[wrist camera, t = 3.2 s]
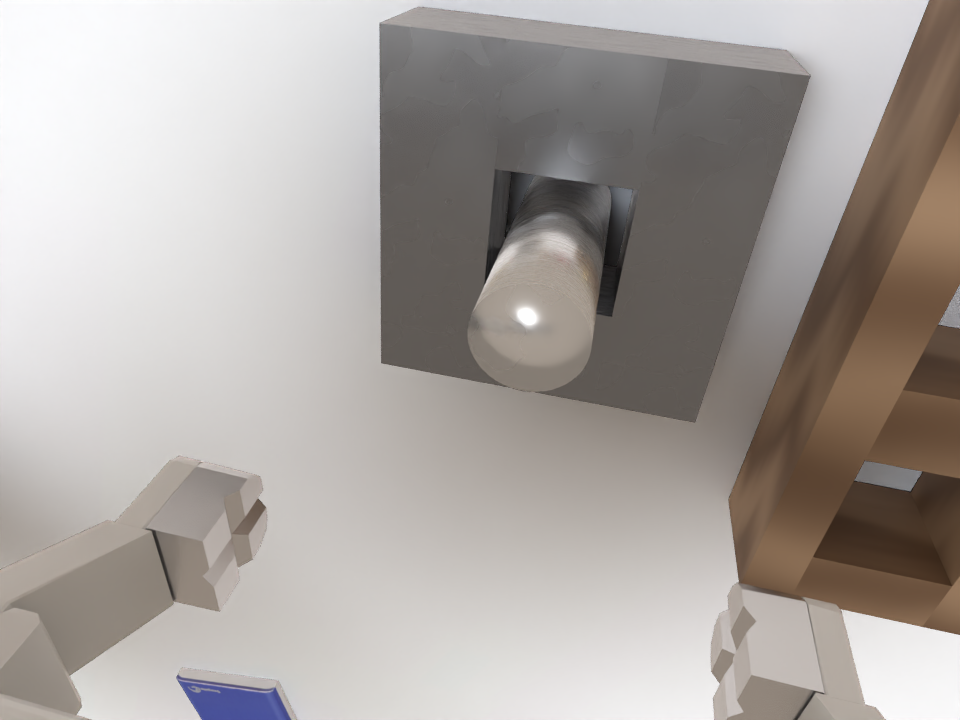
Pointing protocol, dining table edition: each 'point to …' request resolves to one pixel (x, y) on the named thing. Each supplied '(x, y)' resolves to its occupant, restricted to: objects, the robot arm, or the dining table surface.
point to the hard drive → (234, 696)
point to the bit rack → (874, 378)
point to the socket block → (585, 158)
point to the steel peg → (544, 287)
